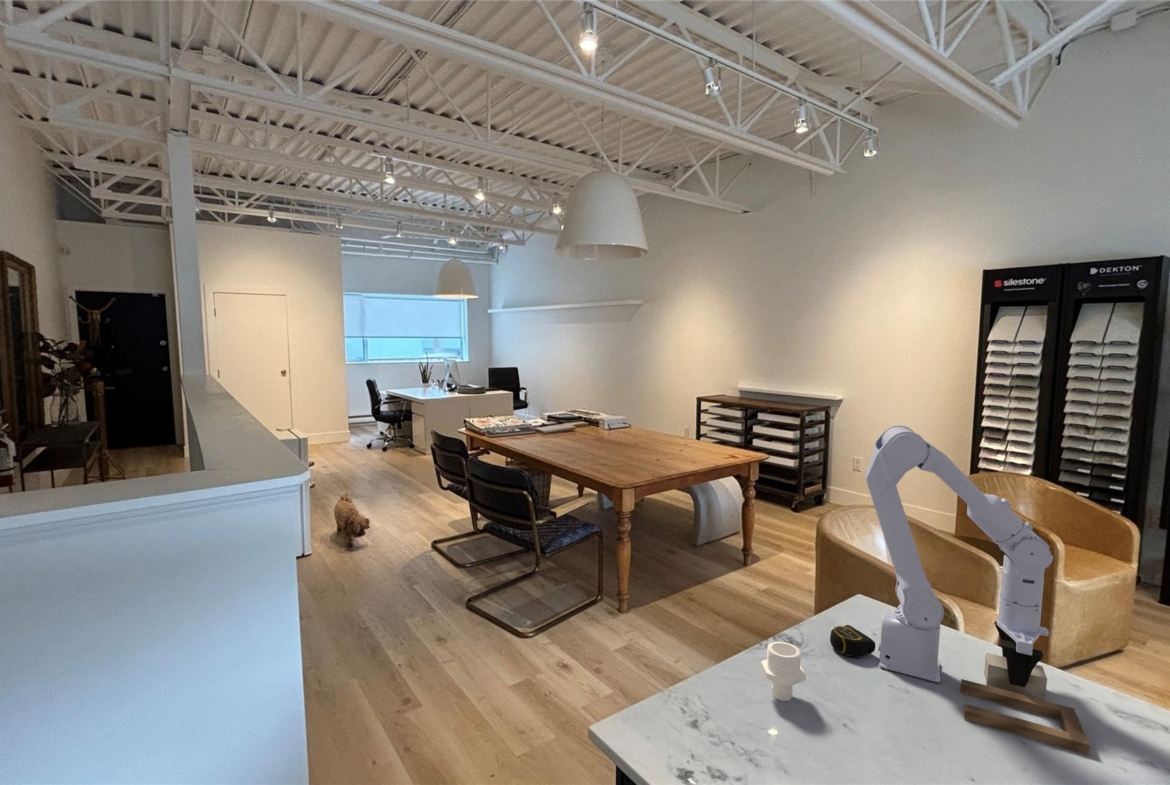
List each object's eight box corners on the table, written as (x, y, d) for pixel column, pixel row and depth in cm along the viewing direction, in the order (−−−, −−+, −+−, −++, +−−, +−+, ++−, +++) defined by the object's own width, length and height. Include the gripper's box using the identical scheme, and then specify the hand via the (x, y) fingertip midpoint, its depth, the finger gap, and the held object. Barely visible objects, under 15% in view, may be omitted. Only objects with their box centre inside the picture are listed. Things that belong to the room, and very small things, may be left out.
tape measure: (876, 658, 107) (878, 639, 107) (847, 663, 105) (848, 644, 105) (849, 640, 114) (850, 622, 114) (821, 644, 112) (822, 626, 111)
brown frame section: (964, 719, 90) (965, 710, 89) (960, 687, 98) (961, 678, 98) (1089, 755, 82) (1090, 745, 82) (1072, 716, 91) (1073, 708, 90)
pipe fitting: (751, 690, 96) (753, 645, 95) (782, 679, 99) (784, 635, 99) (780, 712, 90) (783, 664, 90) (812, 700, 94) (814, 653, 93)
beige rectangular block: (986, 686, 99) (988, 664, 99) (984, 673, 103) (985, 652, 102) (1044, 701, 95) (1047, 678, 95) (1040, 688, 99) (1042, 666, 98)
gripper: (1059, 622, 89) (1052, 705, 90) (1042, 589, 102) (1036, 662, 103) (1004, 611, 93) (997, 690, 94) (994, 581, 105) (988, 651, 106)
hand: (1014, 675), depth 99 cm, fingers open, 6 cm apart
